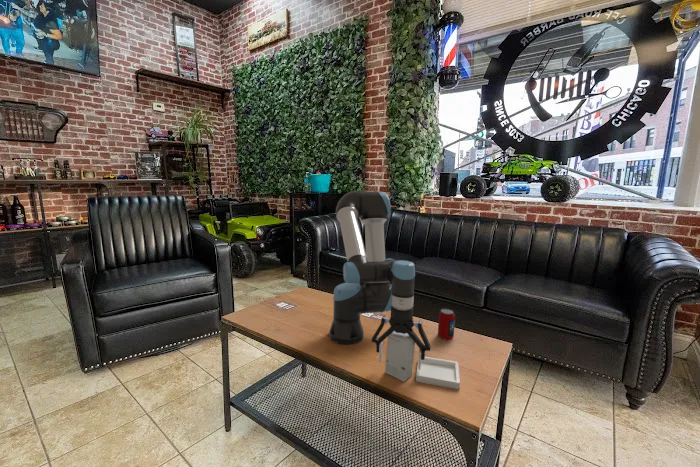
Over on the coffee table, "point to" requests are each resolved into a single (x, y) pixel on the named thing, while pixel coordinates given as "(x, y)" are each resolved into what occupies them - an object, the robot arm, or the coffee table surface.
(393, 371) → the skincare box
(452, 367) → the tray
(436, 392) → the coffee table surface
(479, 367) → the coffee table surface
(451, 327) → the beverage can
